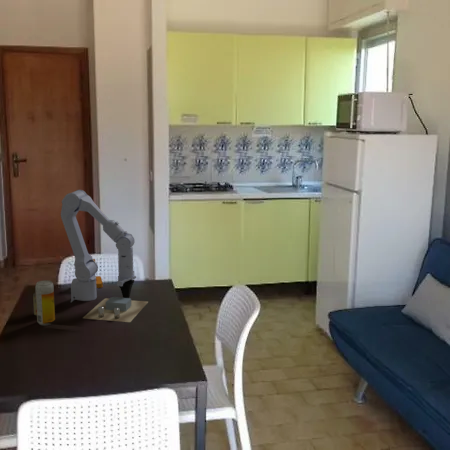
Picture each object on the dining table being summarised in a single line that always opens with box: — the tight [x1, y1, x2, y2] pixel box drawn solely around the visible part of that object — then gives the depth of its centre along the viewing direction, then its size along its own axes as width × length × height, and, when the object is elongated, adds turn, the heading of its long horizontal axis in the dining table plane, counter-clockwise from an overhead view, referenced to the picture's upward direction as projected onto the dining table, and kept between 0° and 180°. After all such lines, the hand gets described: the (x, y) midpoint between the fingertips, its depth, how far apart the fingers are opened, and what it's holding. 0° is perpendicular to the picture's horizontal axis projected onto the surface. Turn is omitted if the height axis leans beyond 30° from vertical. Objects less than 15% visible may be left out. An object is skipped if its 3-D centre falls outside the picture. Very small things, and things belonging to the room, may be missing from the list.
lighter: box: [32, 291, 37, 316], centre depth 211 cm, size 7×4×10 cm, turn 96°
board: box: [82, 297, 149, 323], centre depth 214 cm, size 18×22×1 cm
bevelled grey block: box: [106, 296, 132, 311], centre depth 216 cm, size 8×6×3 cm
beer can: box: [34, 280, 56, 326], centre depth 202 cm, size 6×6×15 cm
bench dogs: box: [98, 306, 120, 319], centre depth 206 cm, size 8×2×4 cm, turn 80°
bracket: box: [93, 258, 104, 289], centre depth 244 cm, size 11×7×12 cm, turn 17°
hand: (126, 298), depth 224 cm, fingers closed
